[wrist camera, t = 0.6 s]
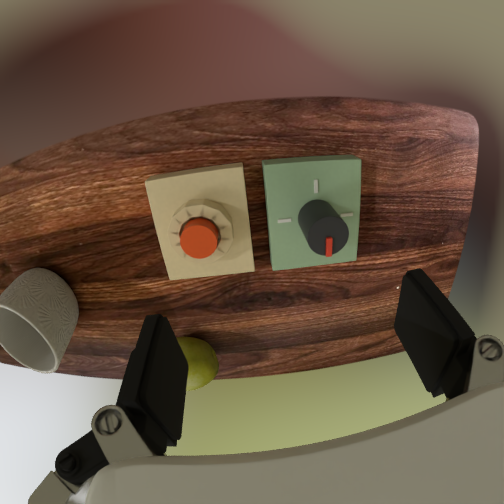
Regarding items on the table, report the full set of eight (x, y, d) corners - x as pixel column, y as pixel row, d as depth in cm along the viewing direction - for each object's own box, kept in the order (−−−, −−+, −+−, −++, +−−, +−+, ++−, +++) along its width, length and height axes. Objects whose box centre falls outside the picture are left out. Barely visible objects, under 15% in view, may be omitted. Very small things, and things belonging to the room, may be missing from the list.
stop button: (179, 220, 28) (176, 227, 26) (215, 215, 28) (213, 222, 26) (186, 252, 30) (184, 260, 28) (220, 248, 30) (219, 256, 28)
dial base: (261, 160, 29) (264, 165, 27) (352, 154, 29) (362, 159, 27) (270, 259, 35) (273, 271, 32) (349, 250, 35) (356, 261, 32)
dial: (297, 201, 29) (307, 219, 24) (334, 197, 29) (351, 215, 24) (298, 236, 31) (308, 259, 26) (334, 232, 31) (349, 254, 26)
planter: (38, 242, 32) (-6, 287, 22) (99, 299, 37) (71, 355, 27) (15, 287, 35) (-18, 330, 26) (68, 334, 40) (44, 382, 31)
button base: (150, 176, 29) (139, 186, 26) (242, 162, 29) (243, 170, 25) (173, 270, 35) (167, 289, 31) (253, 261, 35) (255, 280, 31)
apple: (151, 330, 40) (139, 372, 33) (207, 318, 39) (203, 363, 32) (173, 363, 43) (167, 403, 36) (226, 354, 43) (225, 396, 36)
